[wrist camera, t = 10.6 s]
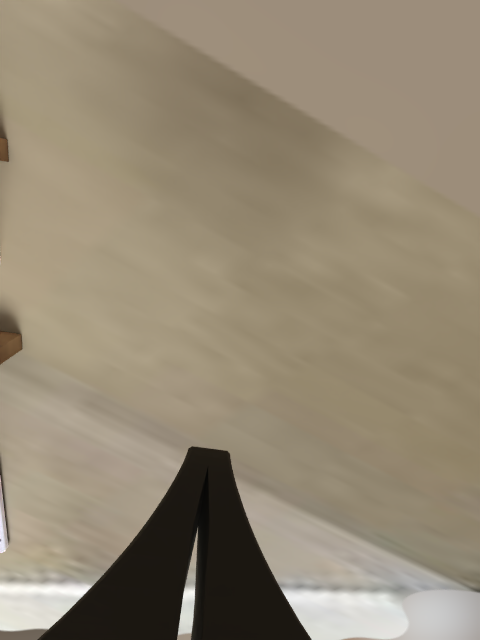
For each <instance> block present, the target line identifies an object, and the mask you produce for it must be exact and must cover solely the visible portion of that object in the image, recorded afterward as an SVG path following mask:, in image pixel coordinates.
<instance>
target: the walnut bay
mask: <svg viewBox="0 0 480 640" xmlns="http://www.w3.org/2000/svg"><path fill="white" fill-rule="evenodd" d="M0 160H1V161H7V162H9V160H8V146H7V139H3V138H0ZM20 350H22V340H21V334H16V333H9V332H2V331H0V364H2V363H3V362H4V361H6V360H7V359H9V358H10V357H12V356H13V355H15V354H16V353H17V352H19V351H20Z"/></svg>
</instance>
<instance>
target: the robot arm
mask: <svg viewBox="0 0 480 640" xmlns="http://www.w3.org/2000/svg"><path fill="white" fill-rule="evenodd" d="M197 528H198V541H197V562H196V585H195V605H194V618H193V627H192V636H191V640H311V638H310V636H309V635H308V633H307V632H306V630H305V629H304V627H303V626H302V624H301V623H300V621H299V619H298V618H297V616H296V614H295V613H294V611H293V609H292V607H291V606H290V604H289V602H288V601H287V599H286V597H285V595H284V594H283V592H282V590H281V589H280V587H279V585H278V583H277V581H276V580H275V578H274V576H273V574H272V572H271V570H270V568H269V566H268V564H267V562H266V560H265V558H264V556H263V554H262V552H261V549H260V547H259V545H258V543H257V540H256V538H255V536H254V533H253V531H252V528H251V526H250V524H249V521H248V518H247V516H246V513H245V510H244V507H243V504H242V501H241V498H240V495H239V492H238V489H237V486H236V482H235V478H234V474H233V470H232V465H231V459H230V454H229V452H228V451H223V450H216V449H208V448H200V447H193V446H192V447H191V448H189V449H188V452H187V455H186V458H185V460H184V462H183V464H182V466H181V468H180V470H179V472H178V474H177V476H176V478H175V479H174V481H173V483H172V485H171V486H170V488H169V490H168V491H167V493H166V495H165V496H164V498H163V499H162V501H161V502H160V504H159V505H158V507H157V508H156V510H155V511H154V513H153V514H152V515H151V517H150V518H149V520H148V521H147V522H146V524H145V525H144V527H143V528H142V529H141V531H140V532H139V533H138V534H137V536H136V537H135V538H134V539H133V541H132V542H131V543H130V545H129V546H128V547H127V548H126V549H125V551H124V552H123V553H122V554H121V555H120V556H119V558H118V559H117V560H116V561H115V562H114V563H113V565H112V566H111V567H110V568H109V569H108V570H107V571H106V572H105V574H104V575H103V576H102V577H101V578H100V579H99V580H98V581H97V582H96V583H95V584H94V585H93V586H92V587H91V588H90V589H89V590H88V591H87V592H86V593H85V594H84V596H83V597H82V598H81V599H80V600H79V601H78V602H77V603H76V604H75V605H74V606H73V607H72V608H71V609H70V610H69V611H68V612H67V613H66V614H65V615H64V616H63V617H62V618H61V619H59V620H58V621H57V622H56V623H55V624H54V625H53V626H52V627H51V628H50V629H49V630H47V631H46V632H45V633H44V634H43V635H42V636H41V637H40V638H39V639H38V640H177V635H178V628H179V621H180V614H181V607H182V599H183V592H184V588H185V583H186V579H187V574H188V570H189V565H190V560H191V556H192V551H193V547H194V542H195V538H196V533H197ZM7 547H8V538H7V530H6V521H5V512H4V504H3V495H2V486H1V477H0V553H3V552H5V551H6V549H7Z"/></svg>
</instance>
